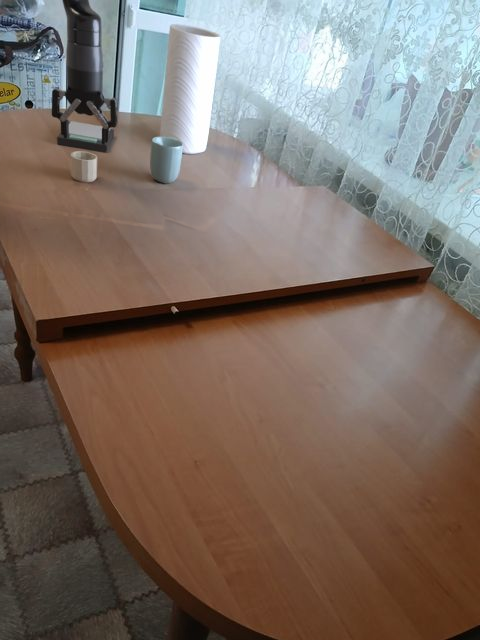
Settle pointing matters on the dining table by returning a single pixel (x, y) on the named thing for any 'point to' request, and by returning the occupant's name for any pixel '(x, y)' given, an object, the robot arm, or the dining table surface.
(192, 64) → the vase
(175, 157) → the cup
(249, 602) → the dining table surface
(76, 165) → the faceted beige tumbler
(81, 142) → the scale
